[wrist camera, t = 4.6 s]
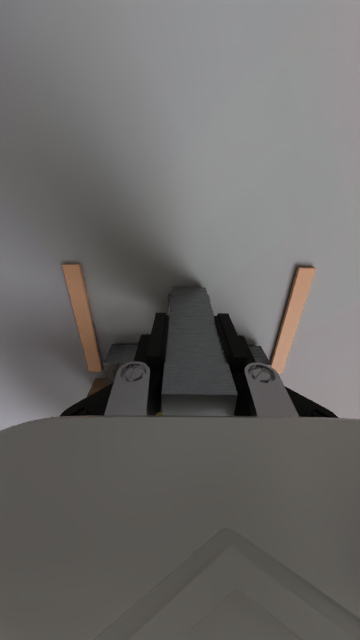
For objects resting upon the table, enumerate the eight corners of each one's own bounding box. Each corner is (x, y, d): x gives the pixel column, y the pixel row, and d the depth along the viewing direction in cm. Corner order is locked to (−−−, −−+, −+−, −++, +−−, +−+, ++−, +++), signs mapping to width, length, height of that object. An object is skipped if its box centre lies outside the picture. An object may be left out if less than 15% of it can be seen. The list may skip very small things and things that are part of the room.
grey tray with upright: (102, 286, 16) (1, 392, 7) (274, 288, 16) (395, 396, 7) (127, 435, 25) (97, 568, 16) (238, 436, 25) (272, 569, 16)
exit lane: (63, 263, 15) (61, 264, 15) (314, 267, 15) (316, 268, 15) (90, 369, 20) (88, 371, 20) (280, 371, 20) (282, 373, 20)
